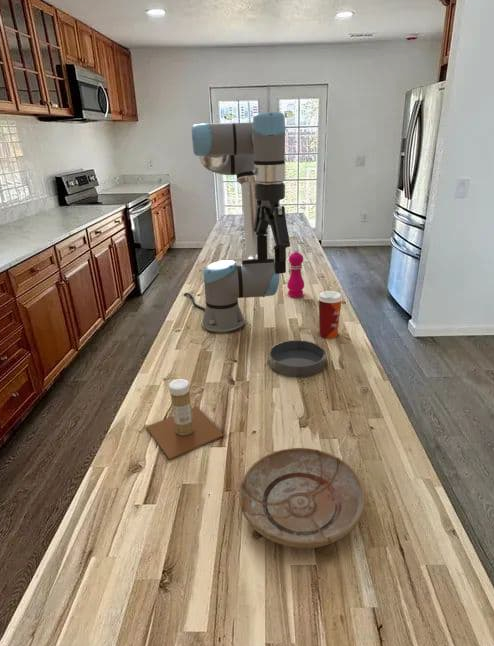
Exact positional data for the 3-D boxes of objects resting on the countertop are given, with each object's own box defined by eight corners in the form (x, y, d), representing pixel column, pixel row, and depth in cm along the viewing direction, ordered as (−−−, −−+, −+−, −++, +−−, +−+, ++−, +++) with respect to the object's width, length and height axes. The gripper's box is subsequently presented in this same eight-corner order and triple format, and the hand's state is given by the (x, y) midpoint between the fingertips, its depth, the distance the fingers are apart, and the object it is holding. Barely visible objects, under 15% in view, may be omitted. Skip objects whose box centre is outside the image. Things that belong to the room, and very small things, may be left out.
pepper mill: (307, 293, 189) (308, 248, 180) (299, 299, 183) (299, 252, 174) (292, 291, 192) (292, 246, 183) (284, 296, 187) (284, 250, 178)
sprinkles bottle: (195, 424, 108) (189, 377, 102) (193, 436, 103) (187, 388, 98) (176, 425, 107) (170, 378, 102) (173, 437, 103) (167, 389, 98)
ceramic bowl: (244, 464, 95) (243, 446, 93) (352, 465, 94) (354, 447, 92) (235, 561, 74) (233, 541, 72) (374, 563, 73) (377, 542, 71)
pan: (261, 355, 140) (261, 345, 138) (310, 346, 145) (310, 336, 143) (281, 381, 125) (281, 371, 124) (334, 370, 130) (335, 360, 129)
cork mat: (146, 428, 107) (146, 426, 107) (197, 408, 114) (197, 406, 114) (169, 460, 97) (169, 458, 97) (224, 436, 104) (223, 434, 104)
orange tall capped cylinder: (339, 340, 148) (342, 299, 141) (315, 339, 149) (316, 298, 143) (340, 330, 155) (343, 290, 148) (317, 328, 156) (319, 289, 150)
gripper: (240, 178, 117) (243, 255, 126) (273, 189, 95) (274, 281, 105) (266, 176, 119) (267, 252, 128) (304, 187, 98) (303, 277, 107)
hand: (270, 265), depth 116 cm, fingers open, 13 cm apart
